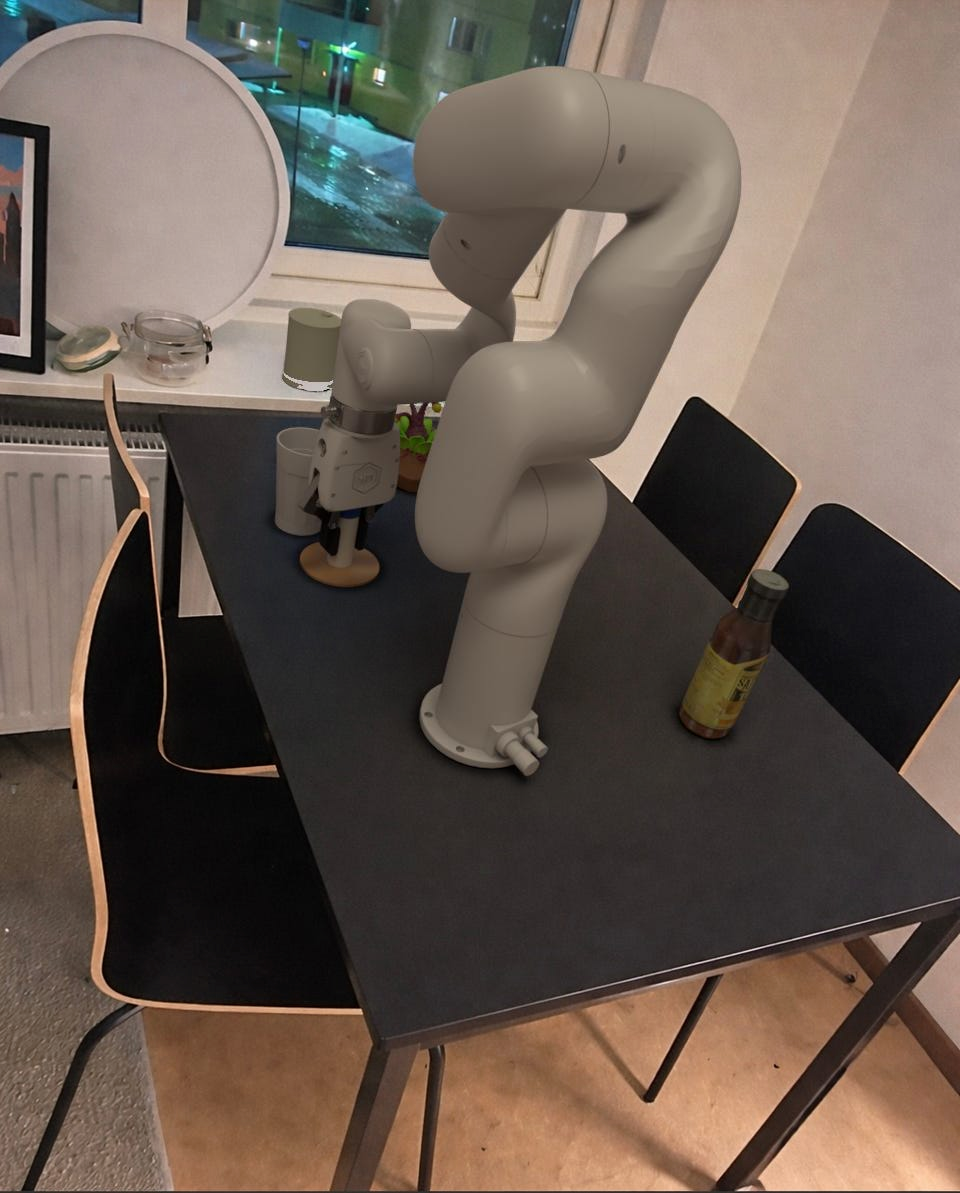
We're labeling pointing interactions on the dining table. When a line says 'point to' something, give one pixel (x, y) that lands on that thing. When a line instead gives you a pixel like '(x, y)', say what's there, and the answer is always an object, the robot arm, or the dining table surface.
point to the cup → (294, 480)
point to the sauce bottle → (733, 658)
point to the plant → (414, 445)
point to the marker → (346, 538)
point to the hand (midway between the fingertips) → (341, 546)
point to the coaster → (352, 576)
